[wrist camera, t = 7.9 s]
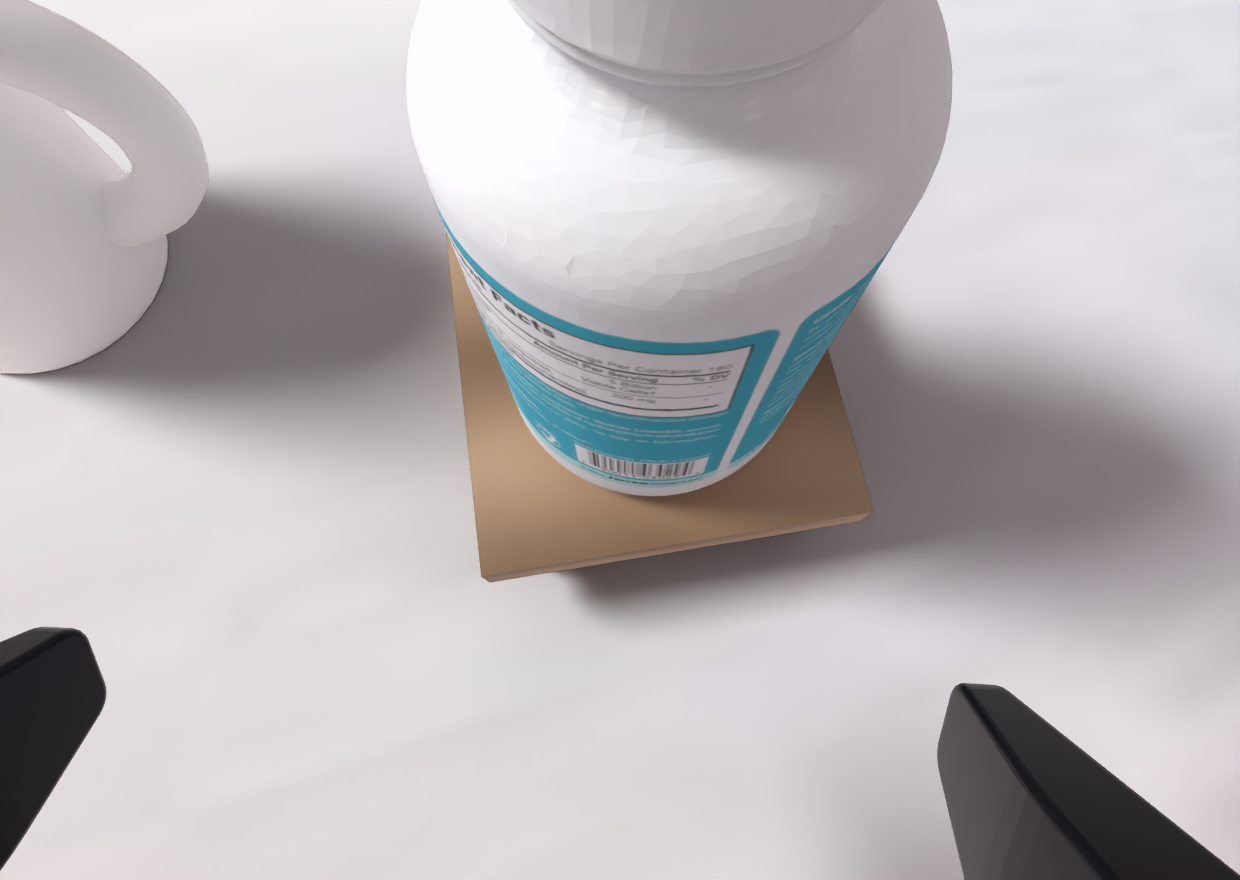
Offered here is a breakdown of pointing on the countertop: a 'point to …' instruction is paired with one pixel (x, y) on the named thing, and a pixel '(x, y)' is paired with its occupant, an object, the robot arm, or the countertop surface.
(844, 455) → the square wooden stand
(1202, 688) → the countertop surface
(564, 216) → the pill bottle
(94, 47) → the mug
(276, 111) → the countertop surface
